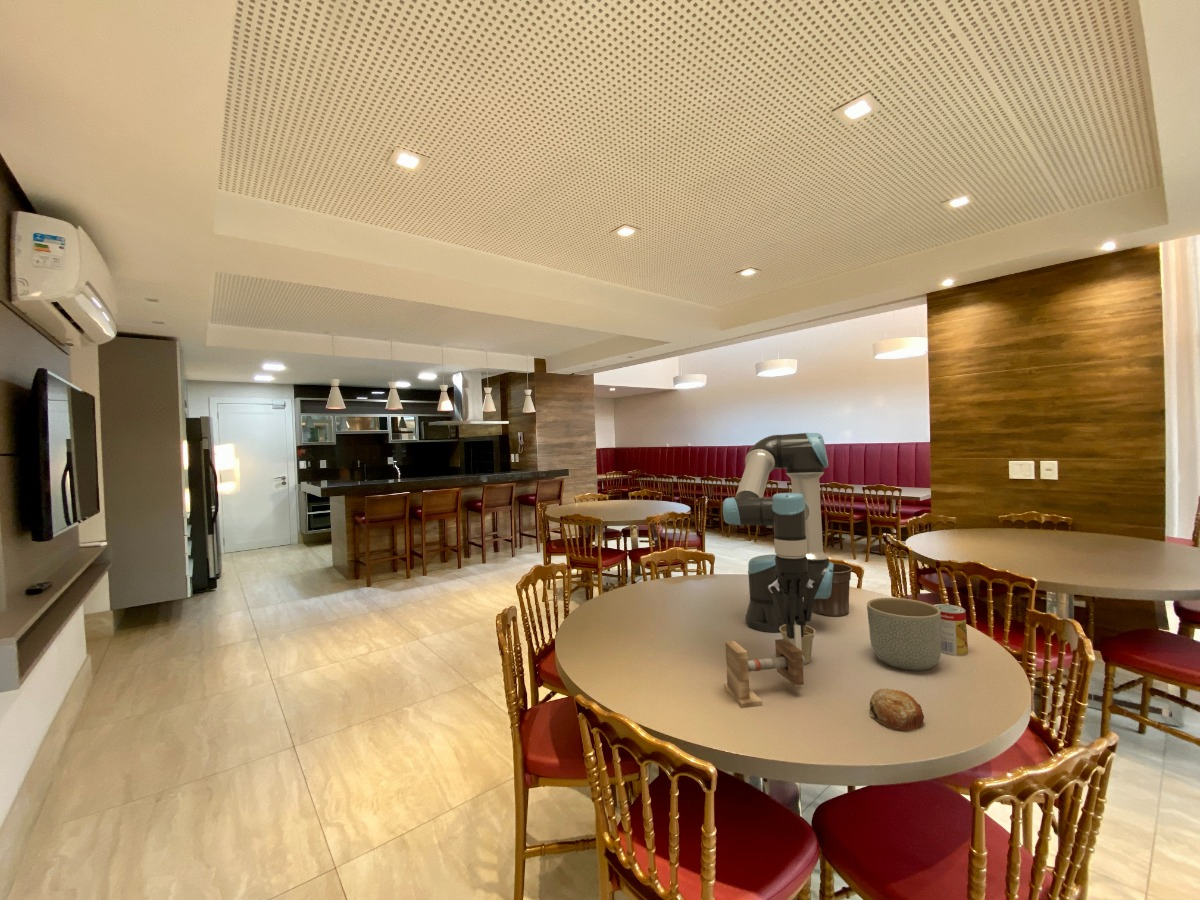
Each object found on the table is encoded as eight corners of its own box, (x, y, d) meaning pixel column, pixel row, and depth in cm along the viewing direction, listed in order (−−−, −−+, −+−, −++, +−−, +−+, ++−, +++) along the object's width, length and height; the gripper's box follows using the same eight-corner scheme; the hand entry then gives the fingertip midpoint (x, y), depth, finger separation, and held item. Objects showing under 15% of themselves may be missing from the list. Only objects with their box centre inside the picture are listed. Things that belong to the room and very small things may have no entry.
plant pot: (797, 606, 181) (794, 563, 182) (837, 603, 183) (834, 560, 183) (821, 620, 165) (818, 573, 165) (865, 616, 167) (862, 570, 167)
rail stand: (792, 679, 124) (790, 632, 124) (816, 697, 114) (813, 647, 114) (724, 687, 121) (721, 640, 121) (741, 707, 111) (739, 655, 111)
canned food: (969, 649, 137) (967, 607, 137) (966, 658, 131) (963, 614, 131) (936, 642, 142) (934, 602, 142) (931, 651, 136) (929, 609, 137)
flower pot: (801, 670, 129) (799, 638, 129) (773, 658, 137) (772, 627, 137) (824, 662, 133) (822, 630, 133) (796, 650, 141) (795, 621, 141)
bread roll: (868, 724, 108) (852, 693, 108) (906, 701, 109) (890, 670, 109) (899, 750, 99) (881, 717, 98) (940, 725, 99) (922, 691, 99)
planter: (880, 645, 142) (877, 594, 142) (949, 661, 130) (946, 604, 130) (861, 665, 130) (858, 608, 130) (936, 683, 118) (932, 621, 118)
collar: (785, 670, 123) (784, 638, 123) (803, 684, 115) (802, 650, 115) (776, 671, 122) (775, 639, 122) (794, 685, 114) (792, 652, 114)
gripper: (806, 550, 124) (811, 642, 123) (759, 554, 122) (764, 647, 121) (824, 556, 117) (829, 653, 116) (774, 560, 114) (779, 659, 114)
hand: (796, 650), depth 119 cm, fingers closed
